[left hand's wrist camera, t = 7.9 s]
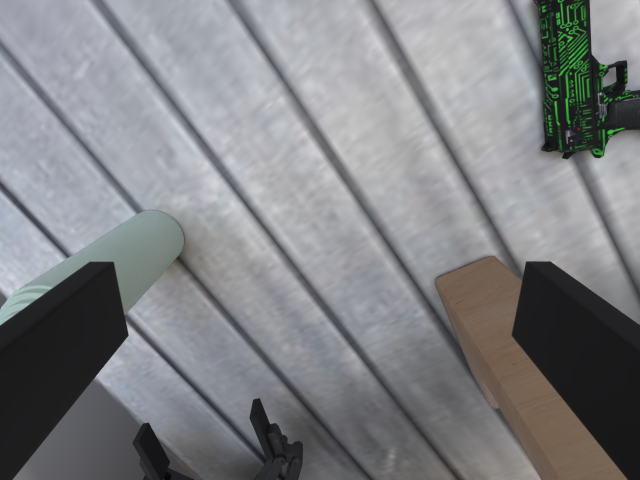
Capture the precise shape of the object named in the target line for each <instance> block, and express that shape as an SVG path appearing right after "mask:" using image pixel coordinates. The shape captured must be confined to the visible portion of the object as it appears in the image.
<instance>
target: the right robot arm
mask: <svg viewBox="0 0 640 480" xmlns="http://www.w3.org/2000/svg"><path fill="white" fill-rule="evenodd" d="M250 420H251V423H252V425H253V427H254V430H255V432H256V434H257V437H258V439H259V442H260V444H261V446H262V449H263V451H264V453H265V456H266V458H267V461H266V463H265V465H264V467H263V468H262V470H261V472H260V474H259V475H257V476H256V478H255V479H254V480H275V479H276V478H277V476H278V475H279V473H280V471H281V470H282V468H283V466H284V465H285V463H286V462H289V463H288V467H287V471H286V475H285V479H284V480H298V478H299V474H300V470H301V466H302V458H303V444H302V443H301V442H299V441H297V442H294V444H293V445H292V444H287V440H288V439H287V437H286V436H285V435H282V433H281V431H280V428H279V426H278V425H277V424H276V423H274V424H270V423H269V421H268V418H267V416H266V413H265V411H264V408H263V406H262V403H261V401H260V398H259V399H254V400H253V404H252V409H251V413H250ZM133 445H134V447H135V448H136V450H137V452H138V454H139V455H140V457H141V459H140V466H141V467H142V469H143V471H144V473H145V477H144V479H143V480H163V478H164V480H193V479H191V478H189V477H187V476H185V475H183V474H180V473H178V472H176V471H174V470H172V469H169V468H168V466H169V463H170V461H169V459H168V457H167V455H166V454H165V452H164V450H163V448H162V446H161V444H160V443H159V441H158V439H157V437H156V435H155V433H154V431H153V430H152V428H151V426H150V424H149V423H144V424H142V426H141V428H140V430H139V432H138V434H137V436H136V438H135V439H134V441H133Z"/></svg>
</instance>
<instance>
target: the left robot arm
mask: <svg viewBox="0 0 640 480" xmlns="http://www.w3.org/2000/svg"><path fill="white" fill-rule="evenodd" d="M128 336H129V335H128V330H127V325H126V320H125V315H124V310H123V305H122V300H121V295H120V290H119V285H118V280H117V275H116V270H115V265H114V262H88V263H87V264H86V265H84V266H83V267H81V268H80V269H79V270H77V271H76V272H74V273H73V274H72V275H70V276H69V277H67V278H66V279H64V280H63V281H62V282H60V283H59V284H57V285H56V286H55V287H53V288H52V289H50V290H49V291H48V292H46V293H45V294H43V295H42V296H41V297H39V298H38V299H36V300H35V301H34V302H32V303H31V304H29V305H28V306H27V307H25V308H24V309H22V310H21V311H19V312H18V313H17V314H15V315H14V316H12V317H11V318H10V319H8V320H7V321H5V322H4V323H3V324H1V325H0V480H13V478H14V477H15V476H16V475H17V473H18V472H19V471H20V470H21V468H22V467H23V466H24V465H25V463H26V462H27V461H28V460H29V458H30V457H31V456H32V455H33V454H34V452H35V451H36V450H37V449H38V447H39V446H40V445H41V444H42V442H43V441H44V440H45V439H46V437H47V436H48V435H49V434H50V432H51V431H52V430H53V429H54V427H55V426H56V425H57V424H58V422H59V421H60V420H61V419H62V417H63V416H64V415H65V414H66V413H67V411H68V410H69V409H70V408H71V406H72V405H73V404H74V403H75V401H76V400H77V399H78V398H79V396H80V395H81V394H82V393H83V391H84V390H85V389H86V388H87V386H88V385H89V384H90V383H91V382H92V380H93V379H94V378H95V377H96V375H97V374H98V373H99V372H100V370H101V369H102V368H103V367H104V365H105V364H106V363H107V362H108V360H109V359H110V358H111V357H112V355H113V354H114V353H115V352H116V350H117V349H118V348H119V347H120V346H121V344H122V343H123V342H124V341H125V339H126V338H127V337H128ZM511 336H512V337H513V338H514V339H515V341H516V342H517V343H518V344H519V346H520V347H521V348H522V349H523V350H524V352H525V353H526V354H527V355H528V357H529V358H530V359H531V360H532V362H533V363H534V364H535V365H536V367H537V368H538V369H539V370H540V372H541V373H542V374H543V375H544V377H545V378H546V379H547V380H548V382H549V383H550V384H551V385H552V386H553V388H554V389H555V390H556V391H557V393H558V394H559V395H560V396H561V398H562V399H563V400H564V401H565V403H566V404H567V405H568V406H569V408H570V409H571V410H572V411H573V413H574V414H575V415H576V416H577V418H578V419H579V420H580V421H581V422H582V424H583V425H584V426H585V427H586V429H587V430H588V431H589V432H590V434H591V435H592V436H593V437H594V439H595V440H596V441H597V442H598V444H599V445H600V446H601V447H602V449H603V450H604V451H605V452H606V454H607V455H608V456H609V457H610V458H611V460H612V461H613V462H614V463H615V465H616V466H617V467H618V468H619V470H620V471H621V472H622V473H623V475H624V476H625V477H626V478H627V480H640V325H639V324H637V323H636V322H635V321H633V320H632V319H630V318H629V317H628V316H626V315H625V314H623V313H622V312H621V311H619V310H618V309H616V308H615V307H613V306H612V305H611V304H609V303H608V302H606V301H605V300H604V299H602V298H601V297H599V296H598V295H597V294H595V293H594V292H592V291H591V290H590V289H588V288H587V287H585V286H584V285H583V284H581V283H580V282H578V281H577V280H576V279H574V278H573V277H571V276H570V275H568V274H567V273H566V272H564V271H563V270H561V269H560V268H559V267H557V266H556V265H554V264H553V263H552V262H526V265H525V270H524V275H523V280H522V285H521V290H520V295H519V300H518V305H517V310H516V315H515V320H514V325H513V330H512V335H511Z"/></svg>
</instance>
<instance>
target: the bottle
mask: <svg viewBox="0 0 640 480" xmlns="http://www.w3.org/2000/svg"><path fill="white" fill-rule="evenodd" d="M183 246H184V234H183V231H182V229H181V227H180V225H179V224H178V223H177V221H176V220H175V219H173V218H172V217H171V216H169V215H168V214H166V213H164V212H161V211H156V210H147V211H143V212H140V213H138V214H137V215H135V216H134V217H132V218H130V219H129V220H127V221H126V222H124V223H123V224H121V225H119V226H118V227H116V228H115V229H113V230H112V231H110V232H108V233H107V234H105V235H104V236H102V237H101V238H99V239H97V240H96V241H94V242H93V243H91V244H90V245H88V246H86V247H85V248H83V249H82V250H80V251H79V252H77V253H75V254H74V255H72V256H71V257H69V258H68V259H66V260H64V261H63V262H61V263H60V264H58V265H57V266H55V267H53V268H52V269H50V270H49V271H47V272H46V273H44V274H42V275H41V276H39V277H38V278H36V279H35V280H33V281H31V282H30V283H28V284H27V285H25V286H24V287H22V288H20V289H19V290H17V291H16V292H14V293H13V294H12V295H11V296H10V297H9V298H8V300H7V301H6V303H5V304H4V305H3V306H2V308H1V310H0V325H1V324H3V323H4V322H5V321H7V320H8V319H10V318H11V317H12V316H14V315H15V314H17V313H18V312H19V311H21V310H22V309H24V308H25V307H27V306H28V305H29V304H31V303H32V302H34V301H35V300H36V299H38V298H39V297H41V296H42V295H43V294H45V293H46V292H48V291H49V290H50V289H52V288H53V287H55V286H56V285H57V284H59V283H60V282H62V281H63V280H64V279H66V278H67V277H69V276H70V275H72V274H73V273H74V272H76V271H77V270H79V269H80V268H81V267H83V266H84V265H86V264H87V263H88V262H114V265H115V270H116V275H117V280H118V285H119V290H120V295H121V300H122V305H123V310H124V315H126V314H127V312H128V311H129V310H130V309H131V308H132V307H133V306H134V305H135V304H136V302H137V301H138V300H139V299H140V298H141V297H142V296H143V295H144V294H145V292H146V291H147V290H148V289H149V288H150V287H151V286H152V285H153V283H154V282H155V281H156V280H157V279H158V278H159V277H160V276H161V275H162V273H163V272H164V271H165V270H166V269H167V268H168V267H169V266H170V265H171V263H172V262H173V261H174V260H175V259H176V258H177V257H178V256H179V254H180V253H181V251H182V249H183Z"/></svg>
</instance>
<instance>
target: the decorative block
mask: <svg viewBox="0 0 640 480" xmlns="http://www.w3.org/2000/svg"><path fill="white" fill-rule="evenodd" d="M435 285H436V288H437V290H438V293H439V295H440V298H441V300H442V302H443V305H444V307H445V310H446V312H447V314H448V317H449V319H450V322H451V324H452V327H453V329H454V331H455V334H456V336H457V339H458V341H459V343H460V346H461V348H462V351H463V353H464V356H465V358H466V360H467V363H468V365H469V368H470V370H471V372H472V374H473V376H474V378H475V380H476V381H477V383H478V385H479V387H480V389H481V390H482V392H483V394H484V396H485V398H486V399H487V401H488V403H489V405H491V406H492V407H493V408H500V409H501V411H502V413H503V414H504V416H505V418H506V419H507V421H508V423H509V425H510V426H511V428H512V430H513V431H514V433H515V435H516V437H517V438H518V440H519V442H520V444H521V445H522V447H523V449H524V450H525V452H526V454H527V456H528V457H529V459H530V461H531V463H532V464H533V466H534V468H535V469H536V471H537V473H538V475H539V476H540V478H541V480H627V478H626V477H625V476H624V475H623V473H622V472H621V471H620V470H619V468H618V467H617V466H616V465H615V463H614V462H613V461H612V460H611V458H610V457H609V456H608V455H607V454H606V452H605V451H604V450H603V449H602V447H601V446H600V445H599V444H598V442H597V441H596V440H595V439H594V437H593V436H592V435H591V434H590V432H589V431H588V430H587V429H586V427H585V426H584V425H583V424H582V422H581V421H580V420H579V419H578V418H577V416H576V415H575V414H574V413H573V411H572V410H571V409H570V408H569V406H568V405H567V404H566V403H565V401H564V400H563V399H562V398H561V396H560V395H559V394H558V393H557V391H556V390H555V389H554V388H553V386H552V385H551V384H550V383H549V382H548V380H547V379H546V378H545V377H544V375H543V374H542V373H541V372H540V370H539V369H538V368H537V367H536V365H535V364H534V363H533V362H532V360H531V359H530V358H529V357H528V355H527V354H526V353H525V352H524V350H523V349H522V348H521V347H520V346H519V344H518V343H517V342H516V341H515V339H514V338H513V337H512V336H511V335H512V330H513V325H514V320H515V315H516V310H517V305H518V300H519V295H520V290H521V285H522V280H520V279H519V278H518V277H517V276H516V275H515V274H514V273H513V272H512V271H511V270H509V269H508V268H507V267H506V266H505V265H504V264H503V263H502V262H501V261H500V260H498V259H497V258H496V257H495V256H489V257H486V258H484V259H481V260H479V261H476V262H474V263H472V264H469V265H467V266H464V267H462V268H459V269H457V270H454V271H452V272H450V273H447V274H445V275H442V276H440V277H438V278H437V279H435Z"/></svg>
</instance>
